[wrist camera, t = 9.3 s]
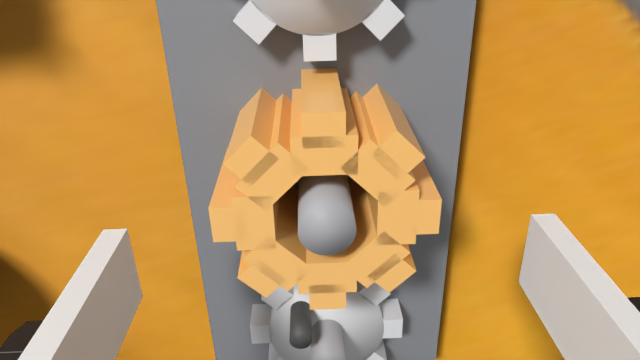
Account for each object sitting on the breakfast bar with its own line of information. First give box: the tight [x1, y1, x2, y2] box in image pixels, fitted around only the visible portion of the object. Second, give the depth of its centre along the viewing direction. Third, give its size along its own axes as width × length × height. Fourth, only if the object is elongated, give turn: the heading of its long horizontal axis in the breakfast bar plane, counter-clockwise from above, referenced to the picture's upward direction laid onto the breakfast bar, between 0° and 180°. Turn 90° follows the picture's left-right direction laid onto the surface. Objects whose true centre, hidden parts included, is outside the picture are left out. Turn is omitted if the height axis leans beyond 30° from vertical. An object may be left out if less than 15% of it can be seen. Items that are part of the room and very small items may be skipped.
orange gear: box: [208, 68, 442, 310], centre depth 20 cm, size 8×8×5 cm
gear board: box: [156, 0, 476, 360], centre depth 20 cm, size 25×12×7 cm, turn 1°
